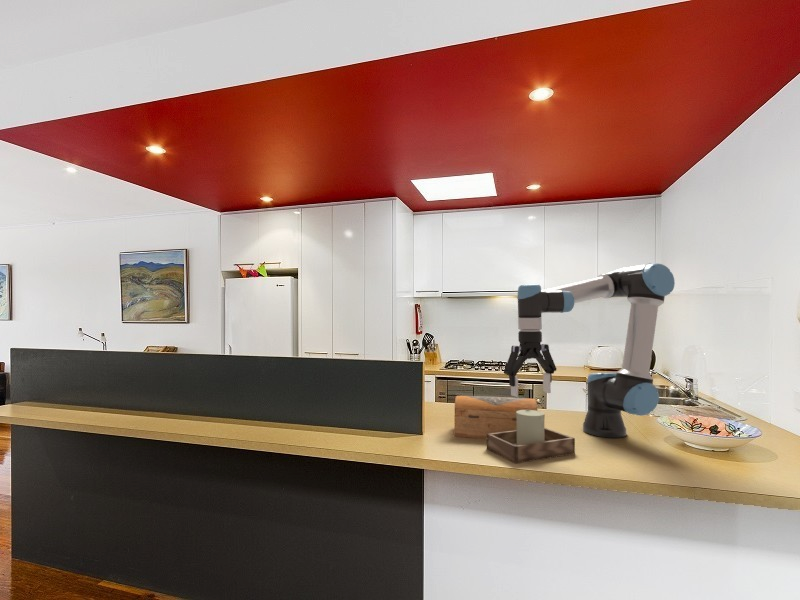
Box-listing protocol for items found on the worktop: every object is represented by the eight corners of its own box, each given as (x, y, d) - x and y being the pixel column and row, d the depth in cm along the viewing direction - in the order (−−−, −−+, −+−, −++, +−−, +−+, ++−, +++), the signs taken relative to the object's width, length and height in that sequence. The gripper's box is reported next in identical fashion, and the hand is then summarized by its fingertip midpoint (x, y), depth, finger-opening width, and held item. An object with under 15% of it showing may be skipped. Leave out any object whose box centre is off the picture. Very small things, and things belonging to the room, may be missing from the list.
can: (539, 443, 146) (539, 408, 147) (549, 452, 137) (549, 414, 138) (512, 443, 146) (512, 408, 147) (521, 452, 137) (521, 414, 137)
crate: (542, 440, 153) (542, 426, 153) (574, 453, 140) (574, 438, 140) (486, 448, 144) (486, 433, 144) (515, 463, 130) (515, 446, 130)
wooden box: (533, 430, 168) (533, 395, 168) (538, 443, 152) (538, 403, 152) (456, 425, 174) (457, 391, 174) (453, 437, 158) (454, 399, 158)
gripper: (550, 329, 151) (551, 389, 151) (492, 331, 141) (493, 395, 141) (566, 329, 144) (568, 392, 144) (506, 332, 134) (507, 399, 134)
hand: (531, 394), depth 142 cm, fingers open, 13 cm apart
